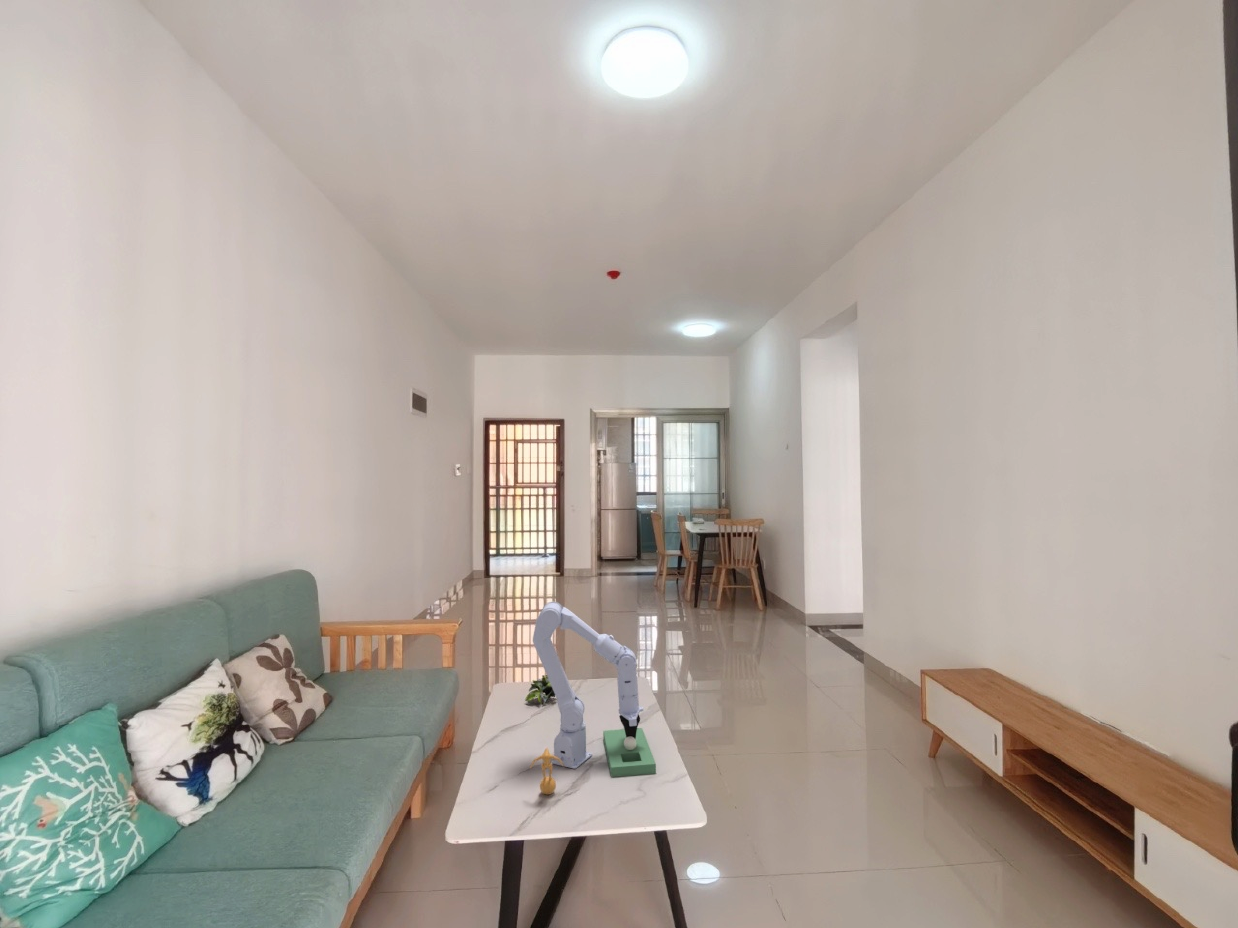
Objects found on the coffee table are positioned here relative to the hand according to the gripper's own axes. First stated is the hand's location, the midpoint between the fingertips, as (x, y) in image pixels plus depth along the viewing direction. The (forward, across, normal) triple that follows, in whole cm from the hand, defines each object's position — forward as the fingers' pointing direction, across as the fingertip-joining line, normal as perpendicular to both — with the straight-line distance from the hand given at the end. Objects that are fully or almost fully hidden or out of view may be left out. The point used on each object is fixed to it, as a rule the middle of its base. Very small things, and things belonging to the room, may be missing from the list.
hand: (631, 741), depth 169 cm
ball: (0, -1, 0) cm, 1 cm away
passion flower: (+4, +48, +25) cm, 54 cm away
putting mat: (+4, +1, +1) cm, 4 cm away
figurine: (+3, -18, +24) cm, 30 cm away
